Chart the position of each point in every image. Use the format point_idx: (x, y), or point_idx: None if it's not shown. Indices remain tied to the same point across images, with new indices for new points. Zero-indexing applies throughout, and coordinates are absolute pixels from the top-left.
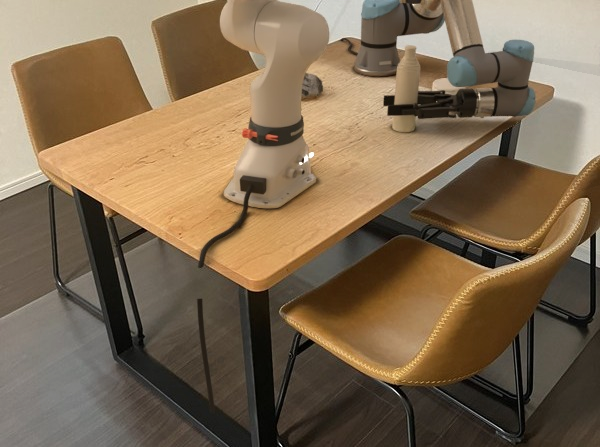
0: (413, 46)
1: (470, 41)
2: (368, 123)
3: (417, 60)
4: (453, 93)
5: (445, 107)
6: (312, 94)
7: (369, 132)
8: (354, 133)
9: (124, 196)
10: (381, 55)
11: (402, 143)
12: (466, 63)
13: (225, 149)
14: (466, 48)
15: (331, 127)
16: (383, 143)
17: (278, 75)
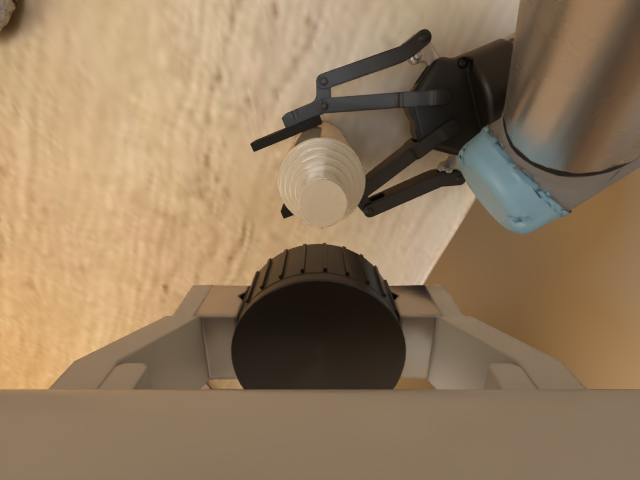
0: (334, 196)
1: (620, 161)
2: (231, 147)
3: (354, 191)
4: None
5: (434, 180)
6: (3, 23)
7: (250, 198)
8: (220, 213)
9: None
10: None
11: (333, 232)
12: (549, 220)
13: (23, 347)
14: (580, 175)
15: (158, 196)
16: (295, 243)
17: None
